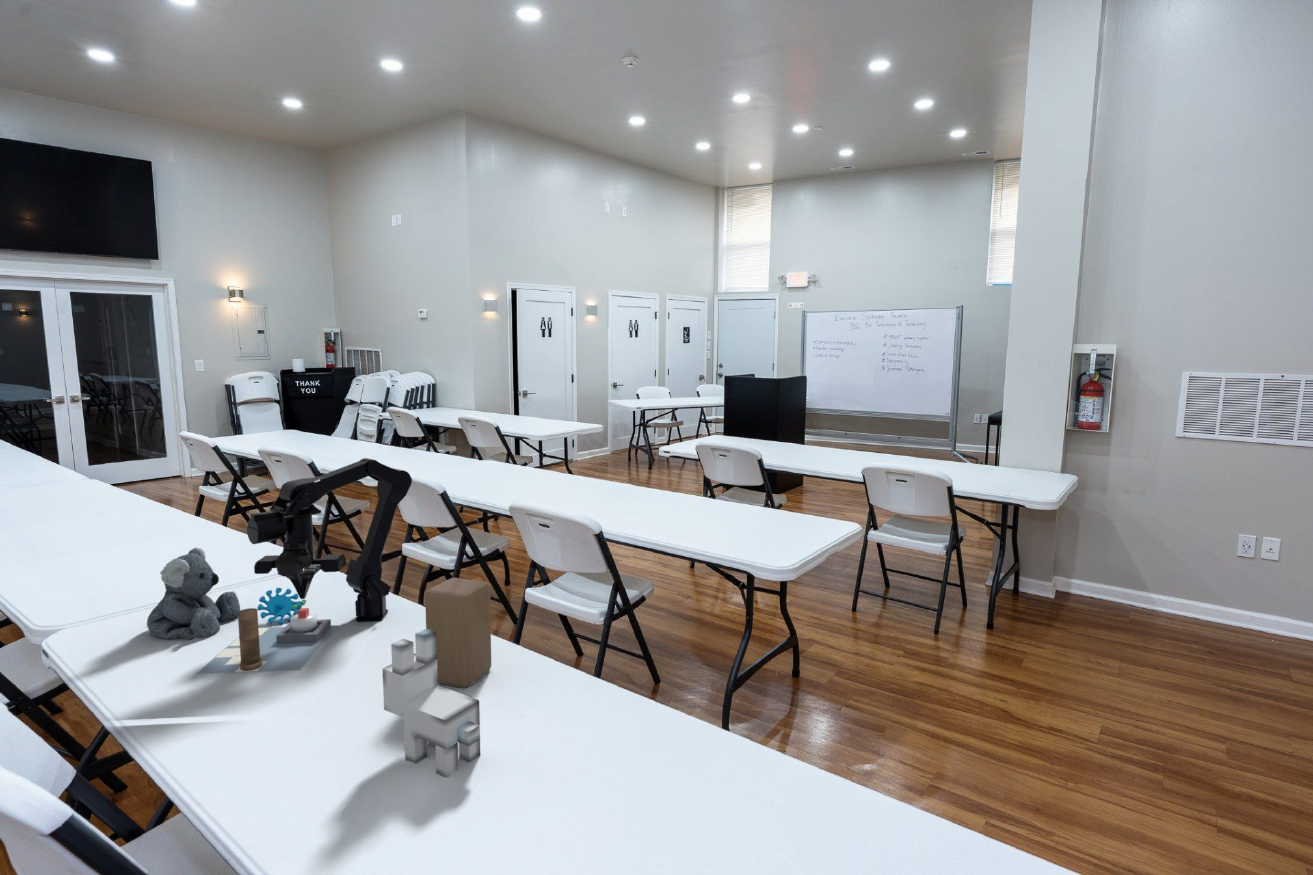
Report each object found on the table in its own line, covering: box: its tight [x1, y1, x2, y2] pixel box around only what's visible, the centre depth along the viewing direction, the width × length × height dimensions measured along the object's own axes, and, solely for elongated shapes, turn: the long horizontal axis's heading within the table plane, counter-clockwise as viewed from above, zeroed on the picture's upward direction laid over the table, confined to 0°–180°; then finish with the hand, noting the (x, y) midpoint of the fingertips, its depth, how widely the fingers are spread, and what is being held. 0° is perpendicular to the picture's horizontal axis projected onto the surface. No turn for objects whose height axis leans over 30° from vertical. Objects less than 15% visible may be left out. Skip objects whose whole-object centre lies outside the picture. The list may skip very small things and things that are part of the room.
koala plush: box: [146, 547, 241, 640], centre depth 166 cm, size 17×18×20 cm
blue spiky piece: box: [256, 587, 307, 625], centre depth 175 cm, size 11×6×10 cm
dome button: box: [290, 607, 318, 632], centre depth 162 cm, size 6×6×4 cm
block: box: [424, 577, 492, 689], centre depth 144 cm, size 10×10×20 cm
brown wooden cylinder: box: [237, 607, 262, 671], centre depth 146 cm, size 4×4×12 cm
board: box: [195, 618, 340, 675], centre depth 156 cm, size 21×24×3 cm
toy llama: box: [382, 628, 481, 779], centre depth 116 cm, size 8×18×20 cm, turn 60°
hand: (303, 598), depth 162 cm, fingers closed
